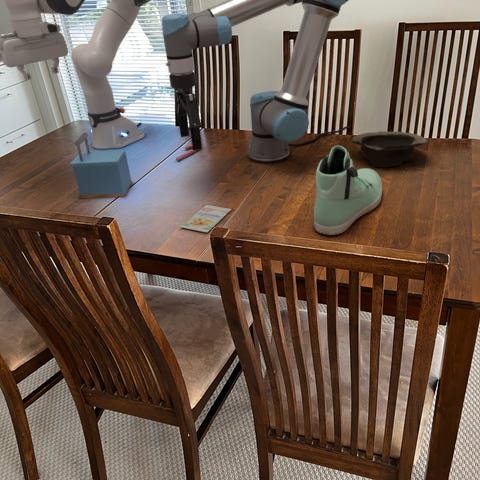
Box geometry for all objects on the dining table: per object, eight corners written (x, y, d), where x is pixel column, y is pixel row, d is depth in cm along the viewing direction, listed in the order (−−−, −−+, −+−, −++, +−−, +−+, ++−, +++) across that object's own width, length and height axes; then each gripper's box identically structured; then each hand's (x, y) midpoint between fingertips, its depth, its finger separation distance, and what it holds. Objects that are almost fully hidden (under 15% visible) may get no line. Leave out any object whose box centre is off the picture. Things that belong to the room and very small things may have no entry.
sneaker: (389, 187, 148) (396, 123, 138) (356, 242, 123) (361, 168, 112) (346, 181, 154) (350, 119, 144) (306, 232, 129) (307, 161, 118)
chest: (80, 198, 158) (72, 167, 152) (90, 185, 166) (83, 155, 161) (124, 196, 157) (117, 165, 151) (132, 183, 165) (125, 153, 159)
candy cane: (166, 159, 182) (166, 155, 181) (191, 146, 192) (191, 142, 191) (178, 161, 179) (177, 158, 178) (203, 148, 189) (203, 144, 188)
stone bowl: (385, 177, 154) (386, 150, 149) (337, 159, 174) (336, 134, 170) (441, 159, 162) (444, 132, 158) (389, 143, 183) (390, 119, 178)
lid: (70, 167, 152) (64, 142, 148) (81, 155, 161) (75, 131, 156) (117, 165, 151) (112, 140, 147) (125, 153, 159) (120, 129, 155)
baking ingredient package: (180, 226, 135) (206, 203, 147) (180, 227, 136) (206, 205, 147) (207, 231, 132) (231, 208, 143) (207, 232, 132) (231, 209, 143)
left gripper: (-1, 35, 138) (14, 84, 145) (64, 24, 150) (75, 70, 157) (-10, 34, 142) (6, 82, 149) (54, 24, 154) (66, 68, 161)
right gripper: (159, 67, 148) (169, 133, 159) (180, 83, 128) (190, 157, 139) (182, 63, 150) (191, 129, 161) (207, 78, 130) (215, 152, 141)
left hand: (42, 76), depth 153 cm, fingers open, 8 cm apart
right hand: (191, 142), depth 150 cm, fingers open, 13 cm apart
